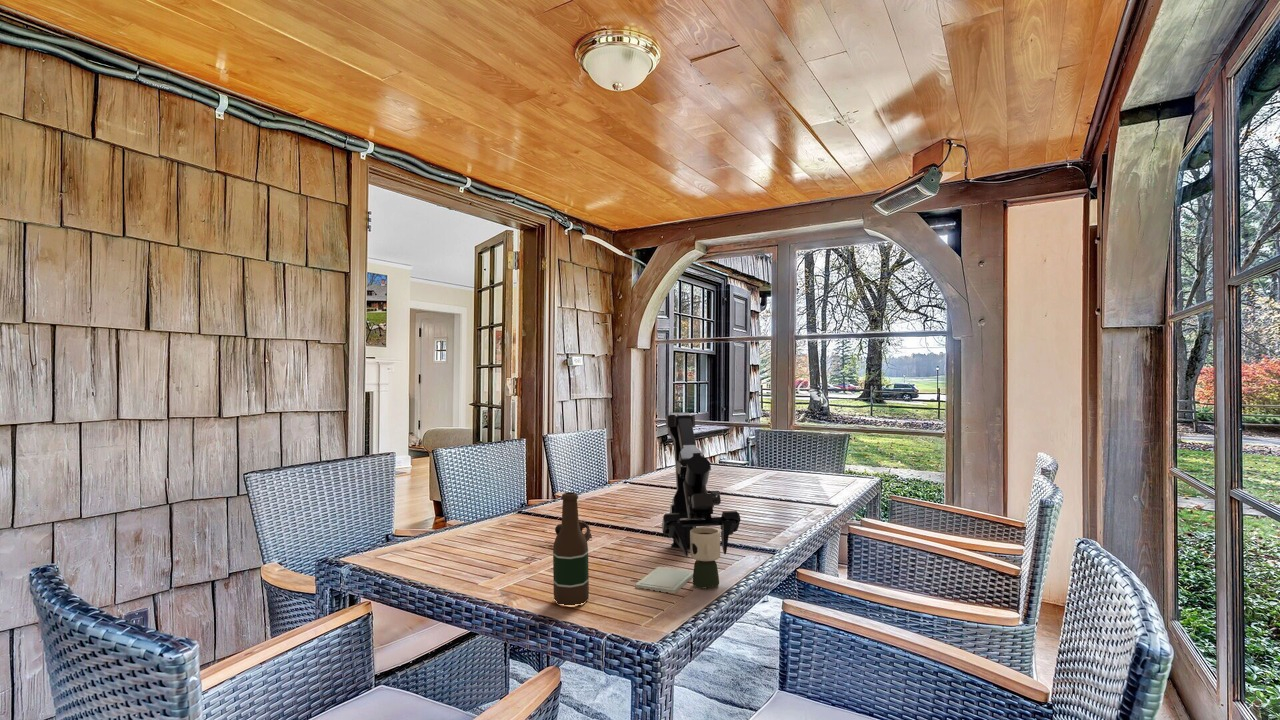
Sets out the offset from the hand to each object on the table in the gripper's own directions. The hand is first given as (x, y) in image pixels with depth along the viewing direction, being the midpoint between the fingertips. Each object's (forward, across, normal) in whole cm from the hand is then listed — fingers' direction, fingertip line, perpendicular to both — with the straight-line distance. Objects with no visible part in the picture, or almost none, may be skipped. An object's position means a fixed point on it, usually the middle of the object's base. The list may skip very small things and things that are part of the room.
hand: (706, 554), depth 139 cm
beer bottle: (+9, -32, +2) cm, 33 cm away
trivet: (+2, -9, +9) cm, 13 cm away
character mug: (+5, 0, +6) cm, 8 cm away
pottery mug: (-22, -32, +33) cm, 51 cm away
